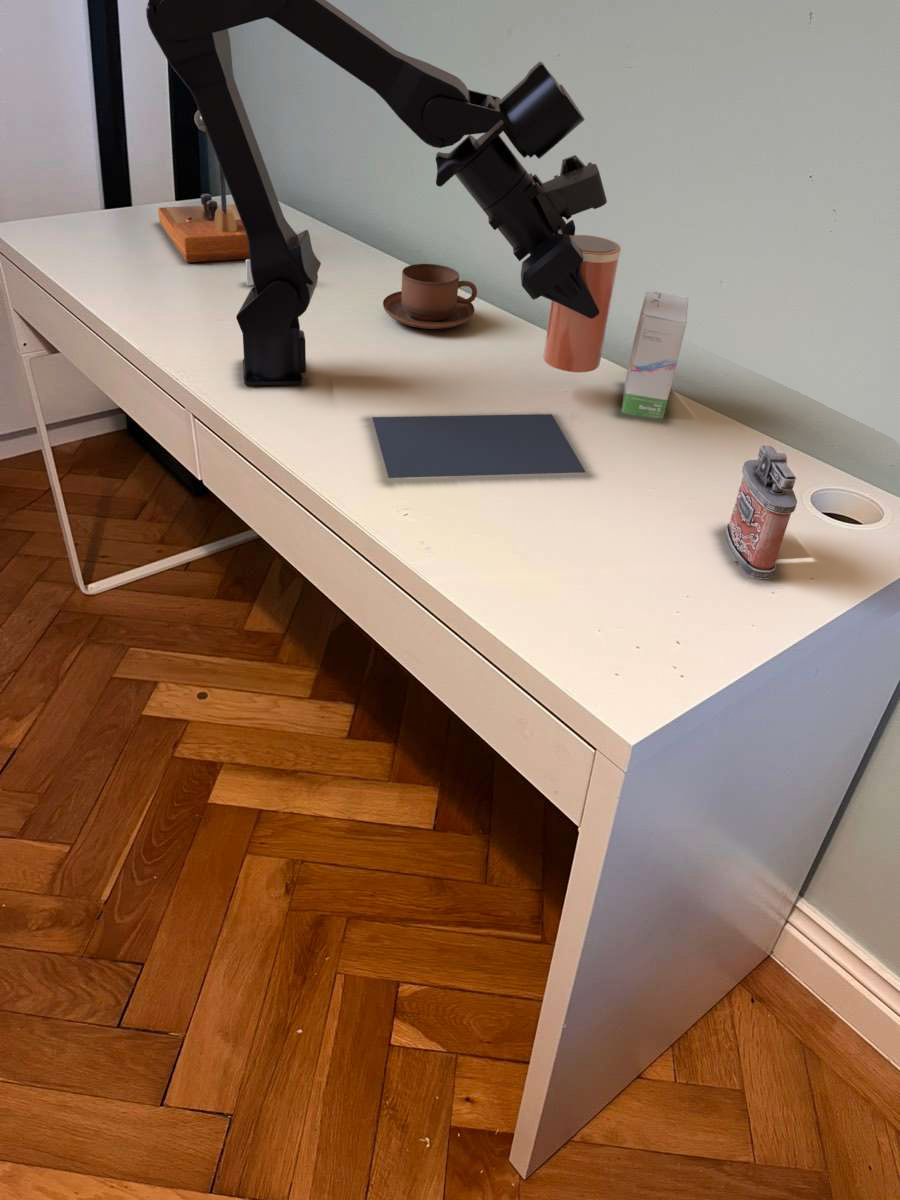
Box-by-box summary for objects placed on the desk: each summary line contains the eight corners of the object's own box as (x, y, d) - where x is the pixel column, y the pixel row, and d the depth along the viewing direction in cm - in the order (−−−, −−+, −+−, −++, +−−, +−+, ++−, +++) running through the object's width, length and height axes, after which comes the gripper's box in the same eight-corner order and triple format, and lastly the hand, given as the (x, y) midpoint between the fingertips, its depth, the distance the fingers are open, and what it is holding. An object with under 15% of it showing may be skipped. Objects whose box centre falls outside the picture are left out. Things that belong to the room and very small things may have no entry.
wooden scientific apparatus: (203, 288, 134) (193, 149, 124) (159, 223, 155) (147, 100, 145) (299, 281, 139) (297, 147, 129) (243, 219, 160) (238, 100, 150)
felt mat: (388, 481, 96) (388, 477, 96) (371, 420, 106) (372, 416, 106) (585, 475, 100) (585, 471, 100) (551, 417, 110) (551, 414, 110)
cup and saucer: (449, 299, 138) (452, 255, 134) (488, 331, 129) (493, 285, 125) (368, 307, 133) (370, 261, 129) (404, 341, 125) (406, 292, 121)
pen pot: (570, 377, 108) (589, 256, 101) (530, 355, 112) (547, 238, 104) (611, 366, 112) (634, 248, 104) (572, 345, 116) (591, 231, 108)
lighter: (717, 529, 93) (743, 433, 87) (751, 530, 94) (780, 434, 88) (744, 579, 87) (775, 479, 81) (781, 579, 87) (814, 480, 81)
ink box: (624, 385, 119) (642, 287, 112) (667, 391, 118) (689, 294, 111) (619, 415, 112) (639, 313, 105) (665, 422, 111) (688, 320, 104)
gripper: (575, 156, 90) (669, 286, 97) (561, 115, 106) (643, 231, 112) (480, 236, 95) (577, 355, 102) (480, 186, 110) (564, 293, 117)
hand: (593, 304), depth 108 cm, fingers closed on pen pot, 6 cm apart
